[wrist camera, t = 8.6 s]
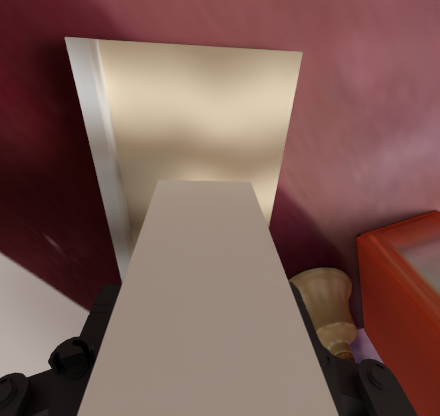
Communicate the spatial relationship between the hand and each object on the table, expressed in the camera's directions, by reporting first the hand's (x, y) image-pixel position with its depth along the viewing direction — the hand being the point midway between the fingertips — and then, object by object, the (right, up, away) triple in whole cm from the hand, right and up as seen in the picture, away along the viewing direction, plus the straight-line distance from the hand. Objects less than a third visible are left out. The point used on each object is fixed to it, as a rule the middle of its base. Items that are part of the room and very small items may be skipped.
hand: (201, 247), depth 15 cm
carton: (0, 0, +1) cm, 1 cm away
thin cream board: (-1, +2, +7) cm, 7 cm away
